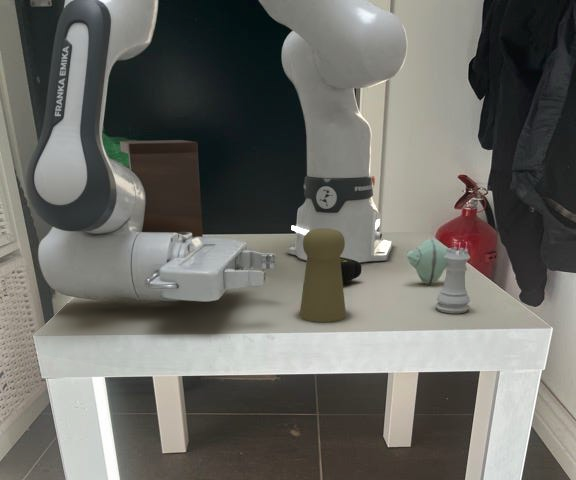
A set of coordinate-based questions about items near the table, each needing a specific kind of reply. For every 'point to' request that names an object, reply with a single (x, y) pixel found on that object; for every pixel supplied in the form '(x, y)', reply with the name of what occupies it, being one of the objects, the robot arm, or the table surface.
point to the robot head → (428, 260)
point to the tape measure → (349, 269)
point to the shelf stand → (168, 184)
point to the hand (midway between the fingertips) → (270, 268)
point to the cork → (323, 276)
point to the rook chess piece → (454, 283)
